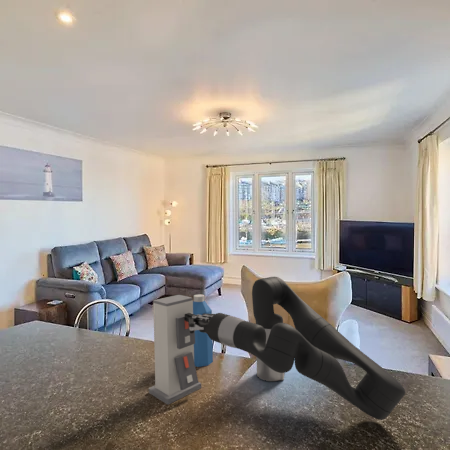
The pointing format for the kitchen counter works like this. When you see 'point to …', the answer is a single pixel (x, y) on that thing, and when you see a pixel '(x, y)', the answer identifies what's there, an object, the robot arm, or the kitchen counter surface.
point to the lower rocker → (186, 370)
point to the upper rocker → (183, 333)
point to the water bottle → (202, 335)
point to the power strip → (169, 348)
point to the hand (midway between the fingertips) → (186, 316)
